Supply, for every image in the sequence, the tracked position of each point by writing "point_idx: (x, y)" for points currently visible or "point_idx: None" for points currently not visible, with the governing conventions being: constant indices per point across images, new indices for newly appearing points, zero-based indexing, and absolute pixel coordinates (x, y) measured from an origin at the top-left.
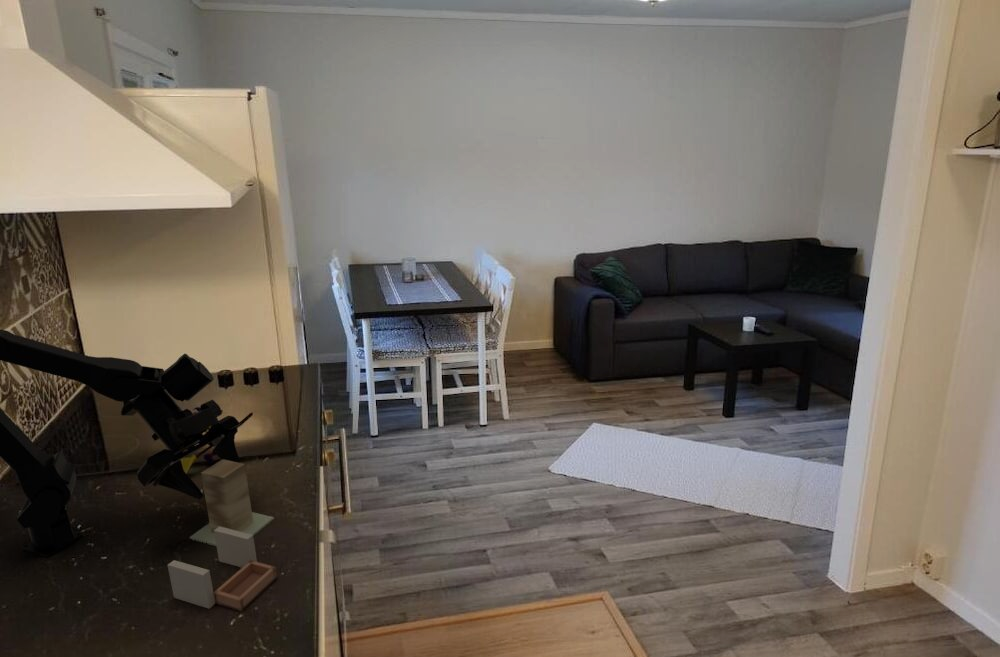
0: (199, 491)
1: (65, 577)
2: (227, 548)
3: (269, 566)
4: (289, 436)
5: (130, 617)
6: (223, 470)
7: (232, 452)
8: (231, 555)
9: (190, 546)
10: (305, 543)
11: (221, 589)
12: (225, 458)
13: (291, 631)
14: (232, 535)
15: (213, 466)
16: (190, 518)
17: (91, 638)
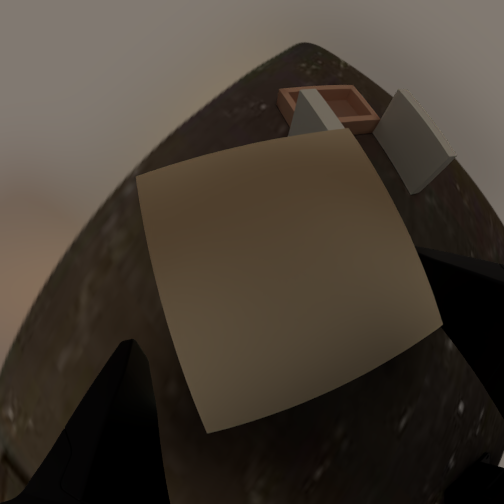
0: (428, 253)
1: None
2: None
3: (286, 95)
4: (3, 497)
5: (461, 208)
6: (312, 210)
7: (86, 445)
8: None
9: None
10: (181, 136)
11: (368, 115)
12: (151, 486)
13: (310, 52)
14: (338, 120)
15: (342, 360)
16: (303, 451)
17: (487, 213)
